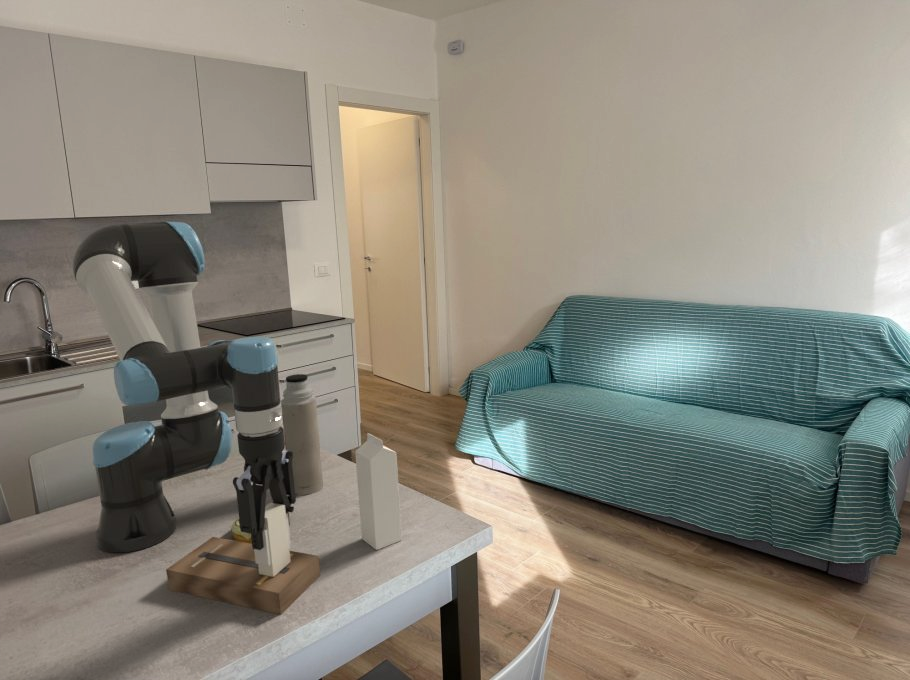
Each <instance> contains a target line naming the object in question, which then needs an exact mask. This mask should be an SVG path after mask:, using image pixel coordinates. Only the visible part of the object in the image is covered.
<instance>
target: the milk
mask: <svg viewBox="0 0 910 680" xmlns="http://www.w3.org/2000/svg"><path fill="white" fill-rule="evenodd" d="M366 437H367V438H366V439H367V440H366V441H365V442H363V444H361V445H360V446H359V447H358V448H357V449H356V451H355V465H356V478H357V479H356V482H357V493H358V494H357V495H358V504H359V507H358V508H359V518H360V532H361V540H363V542H364V541H365V543H367V544H368V545H369V546H371V547H372V548H373V549H375V550H376V551H378V550H380V549H383V548H385V547H388V546H390V545H391V546H392V545H393V544H396V543H398V542H401V541H402V540H403V539H402V538H403V537H402V522H401V506H400V503H401V502H400V490H399V474H398V473H399V472H398V458H397V451H395V450H392V449H390V448H389V447H387V446H386V445H384V442H383V440H382V439H380V438H378V437H376V436H374V435H373V434H371V433H369V432H368V433H366Z"/></svg>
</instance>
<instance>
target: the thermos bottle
mask: <svg viewBox="0 0 910 680" xmlns="http://www.w3.org/2000/svg"><path fill="white" fill-rule="evenodd" d="M307 380H308V375H307V374H303V373H297V374H292V375H288V376H286V377H285V381H286V382H285V383H286V385H285V387H286V388H285V389H284V390H283V392H282V393H283V394H282V400H280V401H281V402H280V404H281V413H282V422H283V424H282V426H283V427H282V428H283V429H284V439H285V451H292V452H293V459H292V468H293V478H294V487H295V495H300V496H303V495H304V496H305V495H310V494H313V493H314V494H315V493H318V492H319V491H320V490H322V489H323V487H324V478H323V477H324V475H323V467H322V459H321V443H320V433H319V432H320V431H319V422H318V420H319V419H318V410H317V408H318V407H317V398H316V397H315V396H314V395H313V394H314V392H313V389H312V387H310V386H309V384H308V381H307Z"/></svg>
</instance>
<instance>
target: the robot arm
mask: <svg viewBox="0 0 910 680" xmlns="http://www.w3.org/2000/svg"><path fill="white" fill-rule="evenodd" d="M205 263H206V261H205V254H204V250H203V246H202V244H201V242H200V239H199V236H198V234H197V233H196V232H195V229H193V228H192V227H191V226H190V225H189V224H188V223H186V222H180V221H157V222H156V221H155V222H142V223H141V222H140V223H125V224H123V223H121V224H119V223H117V224H108V225H105V226H102V227H99V228H97V229H95V230H94V231H92V232H91V233H89V234H87V236H85V238H84V239H83V240H82V241H81V242H80V243H79V245H78V246H77V249H76V251H75V253H74V257H73V260H72V271H73V276H74V279H75V281H76V283H77V286H78V287H79V288H80V290H81V291H82V292H83V293H85V294H87V295H88V296H89V297H90V299H91V301H92V303H93V306H94V308H95V310H96V312H97V313H98V316H99V318H100V321H101V322H102V325H103V326H104V329H105V331H106V333H107V335H108V338H109V340H110V342H111V345H112V346H113V348H114V350H115V352H116V355H117V357H118V358H119V361H117V362H116V363H115V364H114V367H113V379H114V385H115V389H116V392H117V395H118V398H119V400H120V401H121V403H122V404H124V405H125V406H131V407H132V406H138V405H144V404H154V403H156V402H160V401H164V400H165V402H166V407H165V409H164V411H163V412H162V413H161V414H160V421H161V424H160V425H156V426H155V425H154V424H153V423H152V422H151V421H147V420H139V421H132V422H127V423H122V424H121V425H118V426H115V427H113V428H110V429H108V430H106V431H105V432H104V431H103V433H102V434H101V435H99V436H98V437H96V439H95V440H94V442H93V444H92V455H93V456H92V459H93V461H92V465H93V466H94V467H95V474H96V479H97V480H96V481H97V486H98V492H99V498H100V499H99V500H100V504H101V505H100V506H101V510H100V517H99V521H98V528H97V530H96V541H97V546H98V548H99V549H100V550H101V551H102V550H103V551H104V552H108V553H116V554H117V553H130V552H136V551H140V550H143V549H147V548H149V547H153V546H155V545H157V544H159V543H160V542H161V543H162V542H163V541H165V540H167V538H169V537H170V536H171V535H173V534H174V533H175V532H176V530H177V528H178V525H177V518H176V514H175V512H174V510H173V509H172V507H171V505H170V503H169V501H168V499H167V498H166V496H165V494H164V492H163V482H164V481H167V480H170V479H175V478H178V477H181V476H184V475H185V476H186V475H189V474H192V473H196V472H199V471H203V470H204V471H205V470H209V469H211V468H212V467H215V466H218V465H222V464H223V463H225V462H226V461H227V460H228V458H229V456H230V454H231V450H232V444H233V434H232V433H233V432H232V427H231V424H230V419H229V417H228V415H227V414H226V413H225V412H224V411H220V410H219V407H218V404H216V403H215V402H213V401H212V400H211V399H210V398H209V391H212V390H216V389H217V390H218V389H222V388H226V387H227V388H230V389H231V390H232V391H231V393H232V401H233V411H234V419H235V420H234V421H235V429H236V431H237V432H238V434H237V435H236V437H237V445H238V453H239V454H240V456H241V457H242V458H243V459H244V465H243V473H242V474H241V475H240V477H237V476H235V477H234V478H233V479H232V485H233V488H234V489H235V492H236V499H237V501H236V502H237V511H238V518H239V521H240V530H241V532H245V533H251V540H252V547H253V549H254V552H255V561H256V563H257V564H262V565H267V566H269V565H270V564H272V563H271V554H270V545H269V536H268V529H266V528H264V521H265V507H266V504H267V503H266V502H267V492H268V491H269V494H270V496H271V500H272V503H275V504H281V505H285V511H286V521H287V531H288V541H289V549H290V548H292V543H291V532H290V526H291V525H290V524H291V522H290V513H293V512H294V510H295V506H291V505H295V504H296V501H297V497H296V494H295V487H294V478H293V468H292V459H293V452H292V451H286V450H284V449H286V447H285V437H284V427H282V426H283V417H282V407H281V401H282V400H281V392H280V380H279V379H280V378H279V369H278V364H279V362H278V361H279V360H278V356H277V352H276V348H275V347H276V345H275V343H274V341H273V340H272V339H271V338H269V337H267V336H248V337H241V338H237V339H234V340H225V339H219V340H215V341H213V342H210V343H209V344H208V345H207V346H203V347H201V342H200V341H201V340H200V335H199V328H198V321H197V317H196V309H195V302H194V297H193V290H194V289H195V288H196V286H197V285H198V284H199V281H198V276H200V275H202V274H203V273H204V271H205V266H206V265H205ZM133 282H138V283H137V284H138V290H139V291H141V292H142V293H143V294H145V295H146V296H147V297H148V301H149V307H150V313H151V315H150V313H149V311H148V310H147V307H146V306H145V303H144V302H143V300H142V299H141V296H140V294H139V292H138V291H137V289H136V287H135V285H134V283H133ZM256 523H257V524H256Z"/></svg>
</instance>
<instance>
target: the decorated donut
mask: <svg viewBox="0 0 910 680" xmlns="http://www.w3.org/2000/svg"><path fill="white" fill-rule="evenodd" d="M230 528H231V529H230V530H231V532H232V536H233V539H234V541H239V542H245V543H250V544H252V540H251V533H245V532H241V530H240V521H239V517H238V518H237V519H236V520H235V521H234V522H233V523H232V525H231V527H230Z"/></svg>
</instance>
